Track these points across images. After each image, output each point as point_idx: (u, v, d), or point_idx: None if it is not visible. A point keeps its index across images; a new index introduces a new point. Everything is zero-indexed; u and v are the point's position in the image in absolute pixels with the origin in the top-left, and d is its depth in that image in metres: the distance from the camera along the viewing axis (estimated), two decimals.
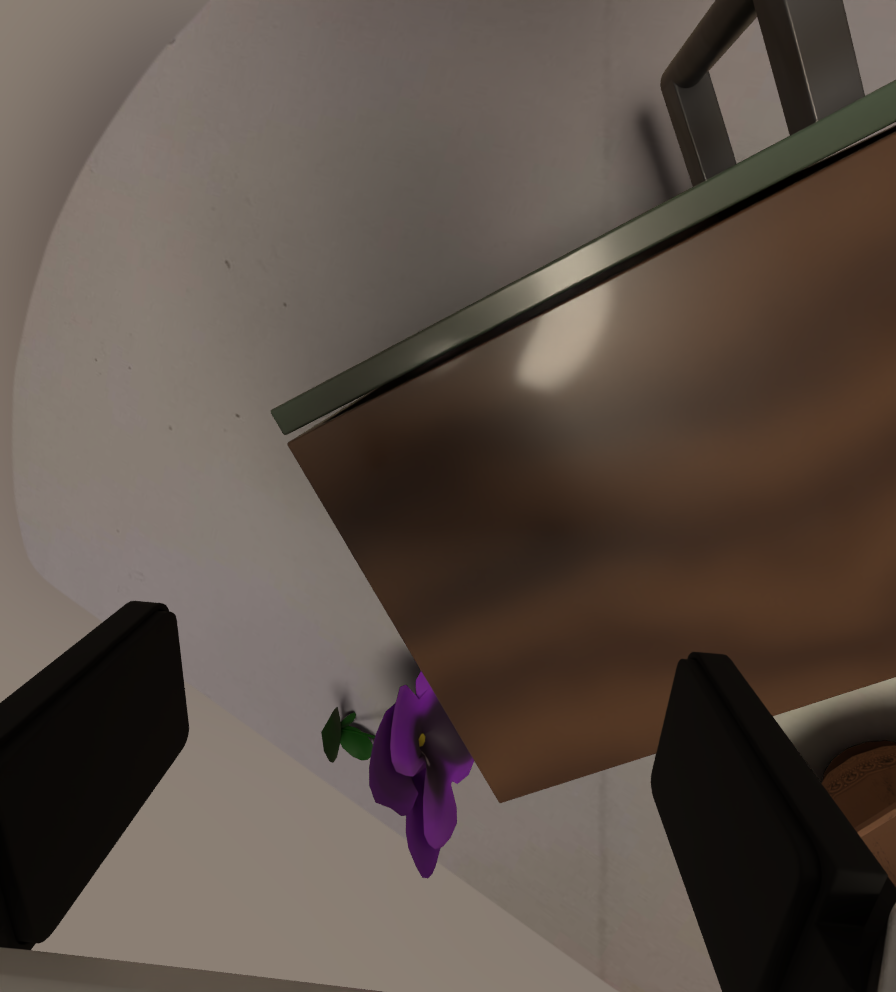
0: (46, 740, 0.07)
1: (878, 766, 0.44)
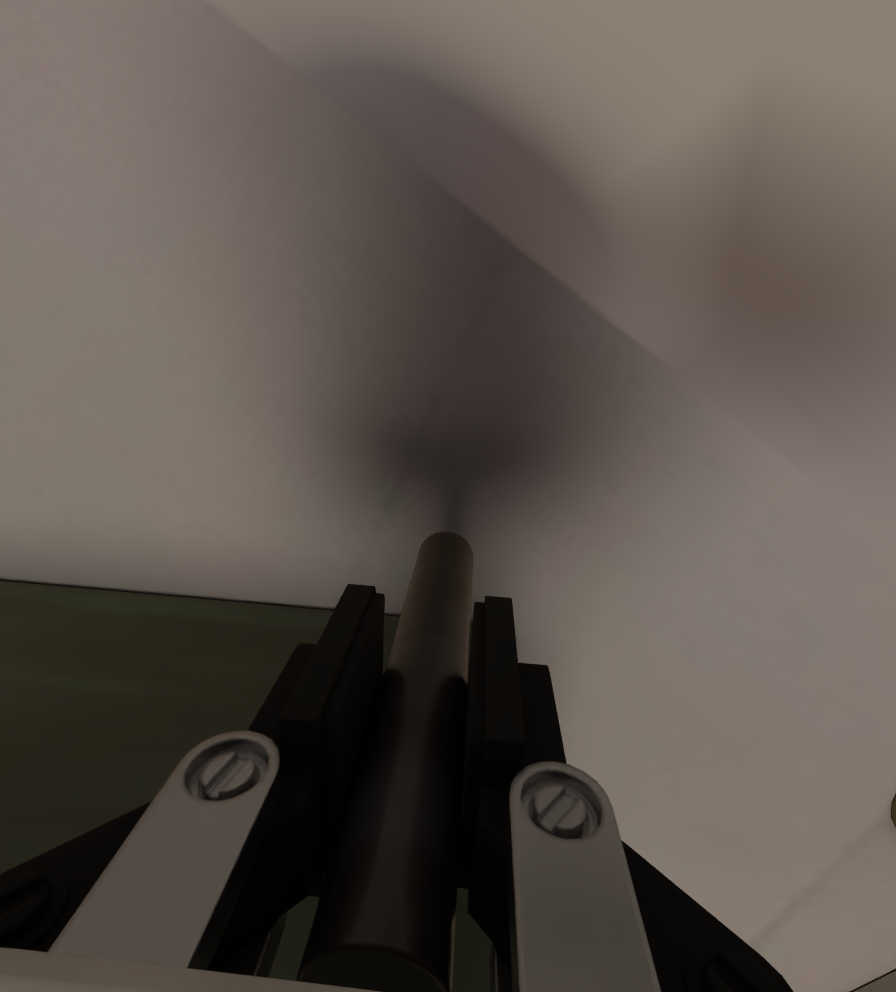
0: (348, 698, 0.08)
1: None
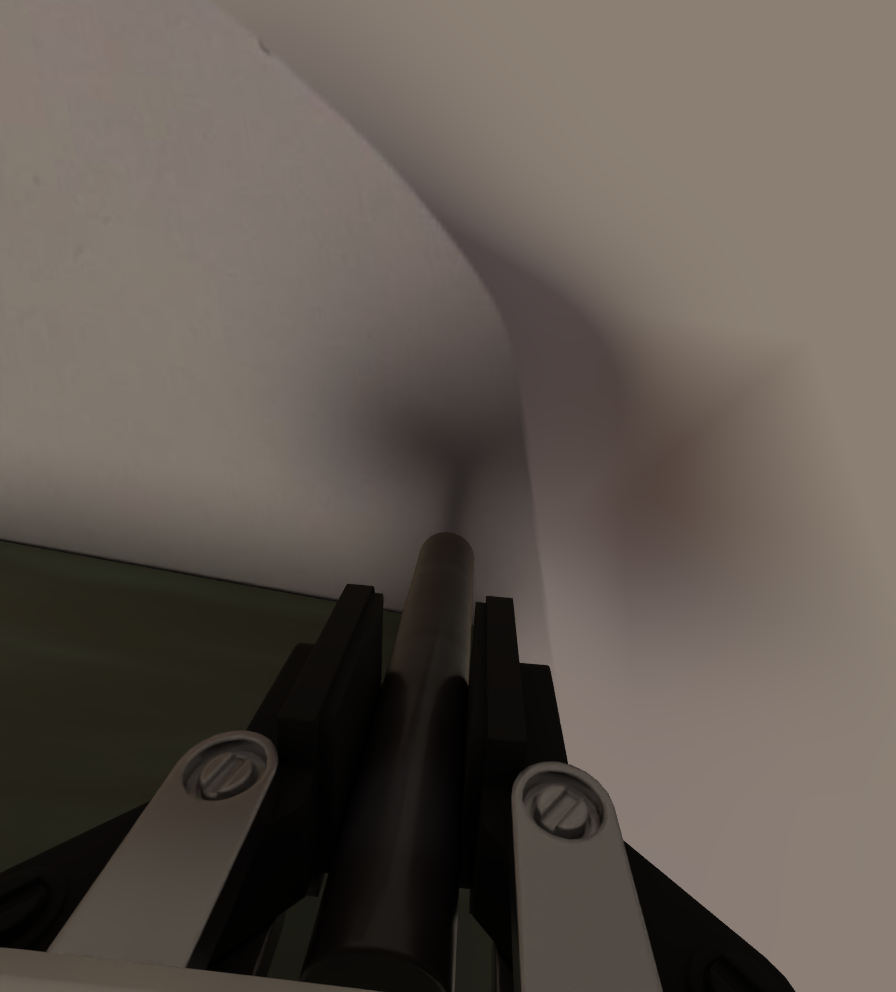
0: (346, 698, 0.08)
1: None
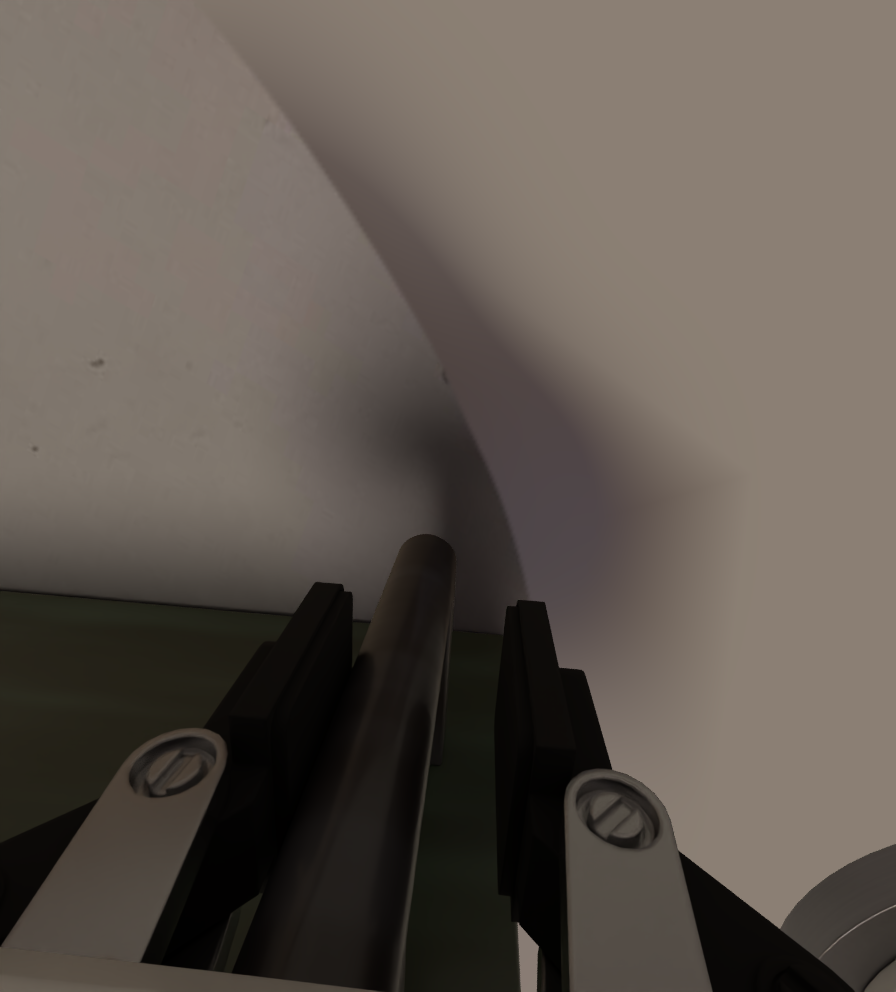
0: (305, 696, 0.08)
1: None
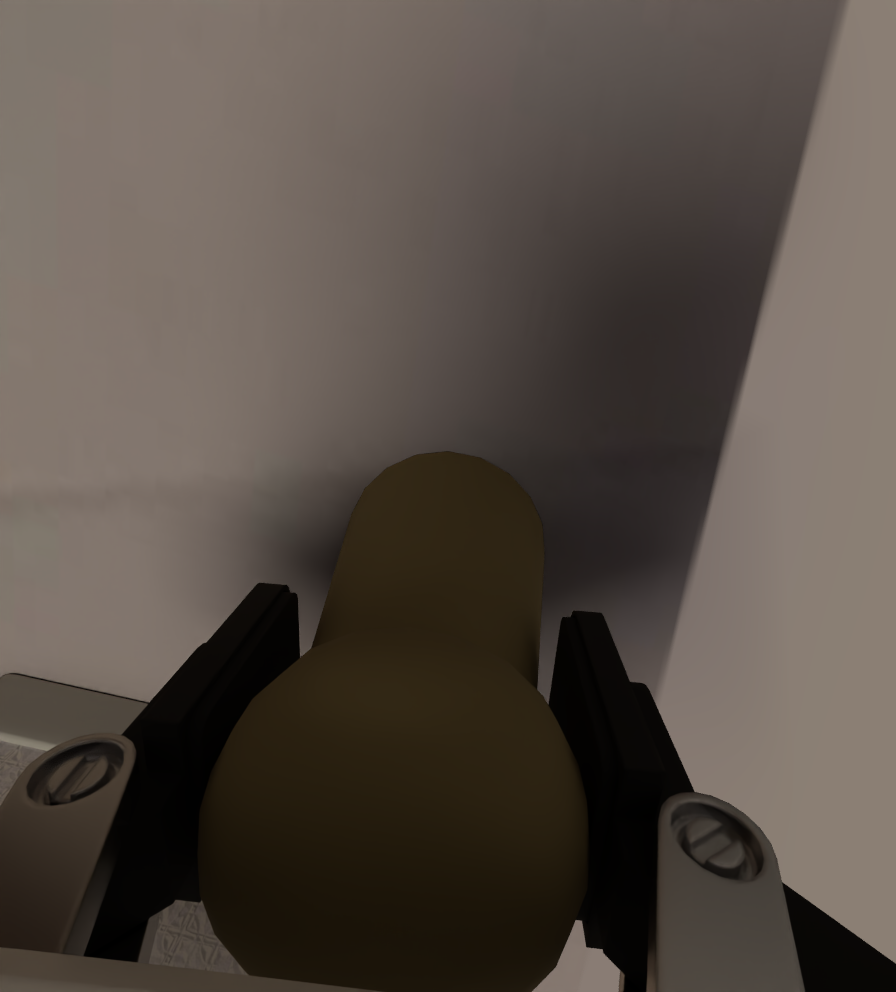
0: (228, 699, 0.08)
1: None
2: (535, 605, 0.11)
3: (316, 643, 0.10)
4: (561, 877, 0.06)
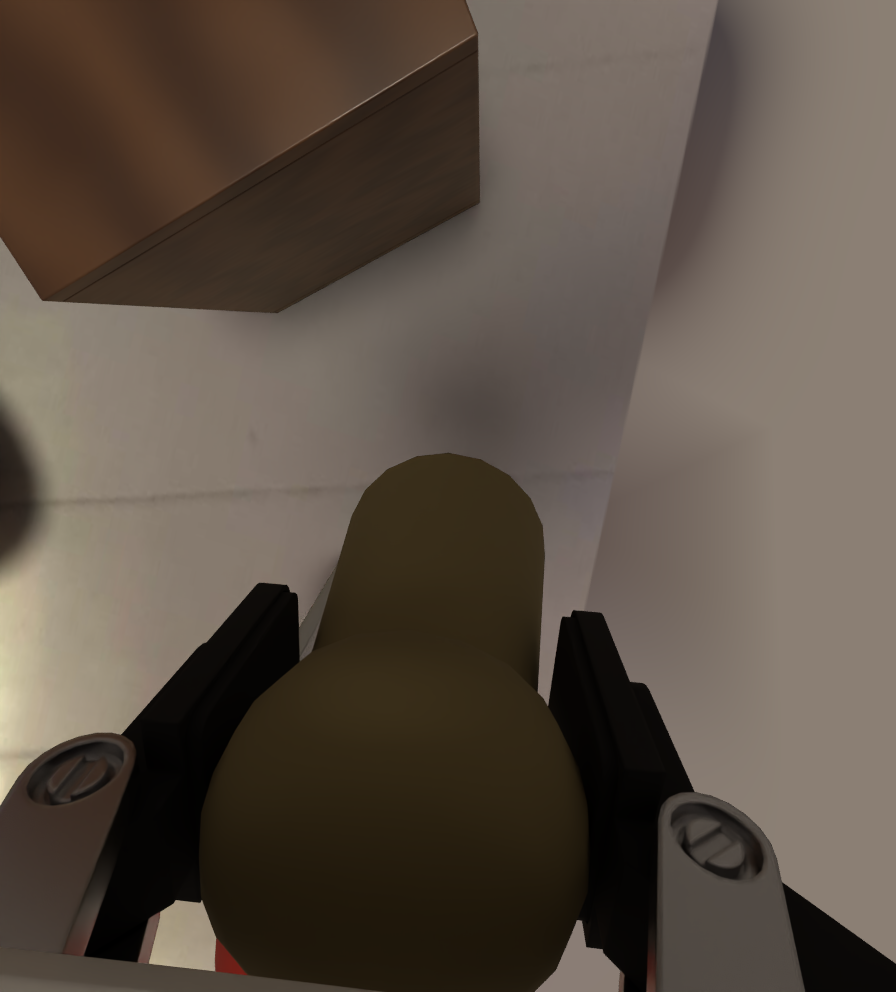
0: (228, 699, 0.08)
1: None
2: (535, 607, 0.11)
3: (317, 645, 0.10)
4: (562, 880, 0.06)
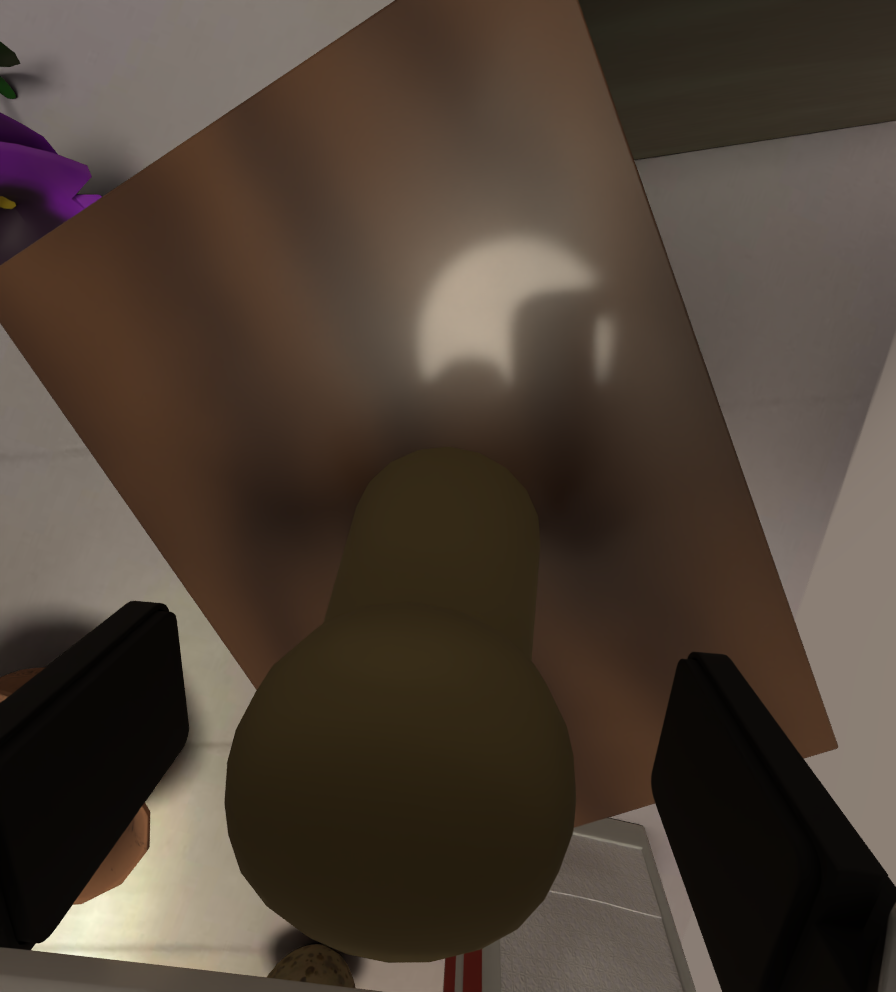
0: (47, 740, 0.07)
1: None
2: (530, 589, 0.12)
3: None
4: (549, 816, 0.07)
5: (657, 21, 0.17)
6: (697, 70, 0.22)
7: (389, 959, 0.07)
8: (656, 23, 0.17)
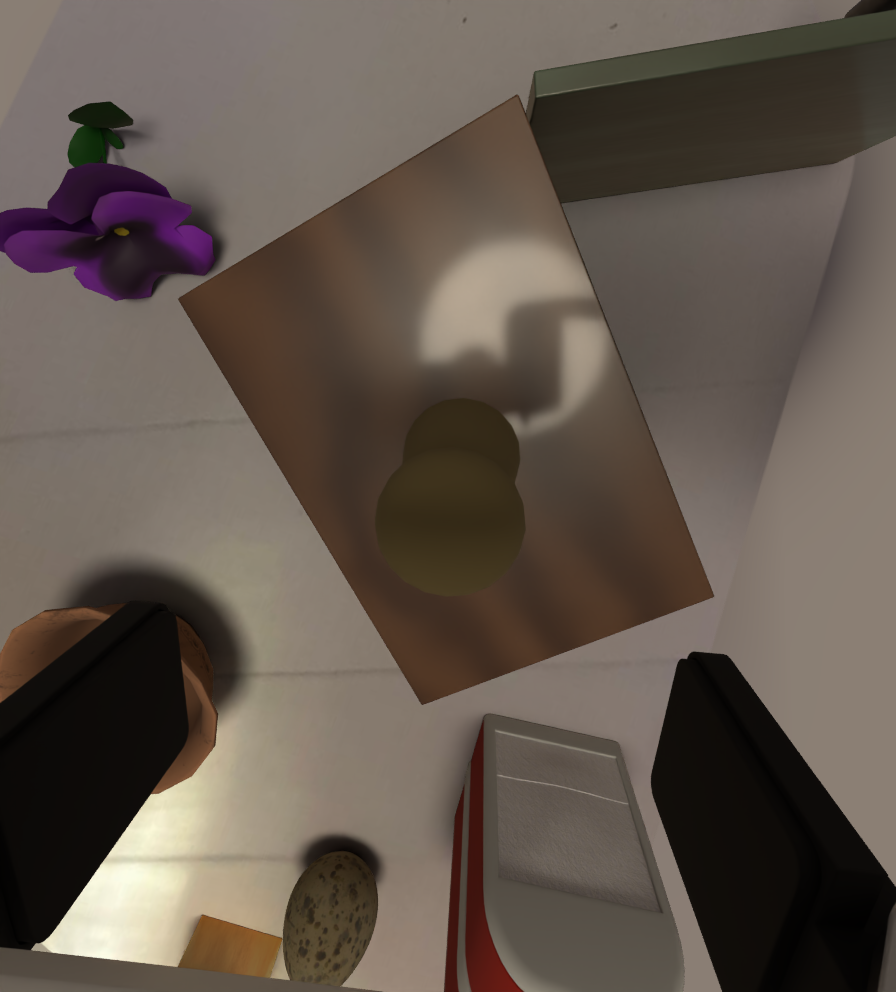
0: (46, 740, 0.07)
1: (189, 639, 0.54)
2: (510, 467, 0.22)
3: None
4: (511, 516, 0.17)
5: (594, 132, 0.28)
6: (630, 151, 0.32)
7: (446, 587, 0.18)
8: (594, 133, 0.28)
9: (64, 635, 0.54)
